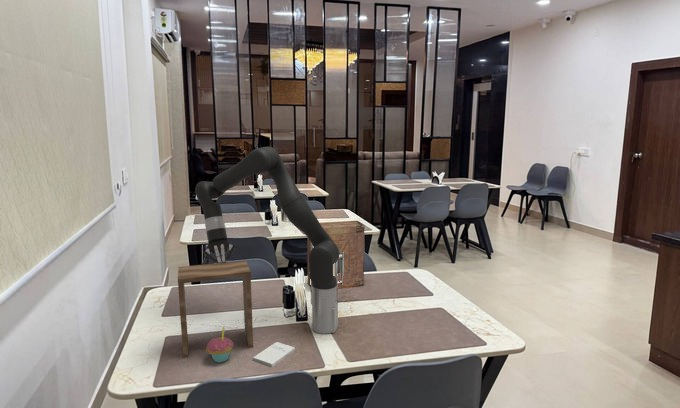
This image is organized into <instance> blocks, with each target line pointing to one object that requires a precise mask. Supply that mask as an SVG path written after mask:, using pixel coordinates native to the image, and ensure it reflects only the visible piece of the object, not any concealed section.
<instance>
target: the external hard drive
mask: <svg viewBox="0 0 680 408" xmlns="http://www.w3.org/2000/svg"><path fill="white" fill-rule="evenodd" d="M295 350H296V348H295V347H294V346H291V345H287V344H284V343H282V342H279V341H276V342H274V343H272V344H271V345H270V346H268V347H266V348H265V349H264V350H262V351H260V352H259V353H258V354H256V355H254V356H253V357H252V361H254V362H257V363H259V364H263V365H265V366H268V367H271V368H272V367H275V366H276V365H277V364H278V363H279V362H281V361H282V360H284V359H285V358H286V357H288V356H289V355H290V354H291V353H293V352H295Z"/></svg>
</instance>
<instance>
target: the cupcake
mask: <svg viewBox="0 0 680 408" xmlns="http://www.w3.org/2000/svg"><path fill="white" fill-rule="evenodd" d="M221 329H222V331H221V336H218V337H213V338H212V339H210V340H209V341H208V343H207V344H206V347H205V349H206V350H205V351H206V352H207V353H208V354H210V355H211V357H212V360H213V361H214V362H216V363H223V362H227V360H229V356H230V353H231V351H232V350H233V348H234V347H233V346H235V345H234V342H233V341H232V339H230V338H229V337H226V336H225V326H223V327H222V328H221Z"/></svg>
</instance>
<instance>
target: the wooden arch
mask: <svg viewBox="0 0 680 408" xmlns="http://www.w3.org/2000/svg"><path fill="white" fill-rule="evenodd" d="M177 270H178V271H177V289H178V301H179V316H180V331H181V333H180V334H181V344H182V358H183V359H186V358H189V342H188V341H189V337H188V335H189V334H188V322H187V308H186V306H187V305H186V291H185V284H188V283H198V282H206V281H207V282H208V281H216V280H217V281H218V280H224V279H225V280H226V279H227V280H228V279H234V278H235V279H236V278H242V295H243V323H244V325H243V326H244V334H245V339H246V341H247V345H248V348H254V331H253V330H254V328H253V327H254V325H253V324H254V323H253V305H252V304H253V303H252V300H253V299H252V279H251V278H252V272H251V270H250V267H249V264H248V261H247V260H237V261H226V262H225V263H222V262H221V263H214V262H213V263H206V264H205V263H204V264H196V265H184V266H178V269H177Z"/></svg>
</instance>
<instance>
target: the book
mask: <svg viewBox="0 0 680 408" xmlns="http://www.w3.org/2000/svg"><path fill="white" fill-rule="evenodd" d="M319 223H320V222H319ZM320 224H321V226H322V227H323V229H324V230H325V231H326V233H327V234H328V235H329V236H330V238H331V239H332V240H333V241H334V243H335V244H336V246H337V247H338V249H339V252H344V276H343V285H340V284H338V289H337V290H339V289H341V290H342V289H349V288H357V287H364V285H365V283H364V281H365V280H364V279H365V227H366V226H365V225H364V224H363V223H361V222H360V221H358V220H355V221H354V220H353V221H351V220H350V221H337V222H335V221H334V222H324V223H322V222H321V223H320ZM310 251H311V241H310V240H309V238H308V237H307V285H308V286H310V274H309V254H310ZM338 281H339V282H340V274H339V273H338Z"/></svg>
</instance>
